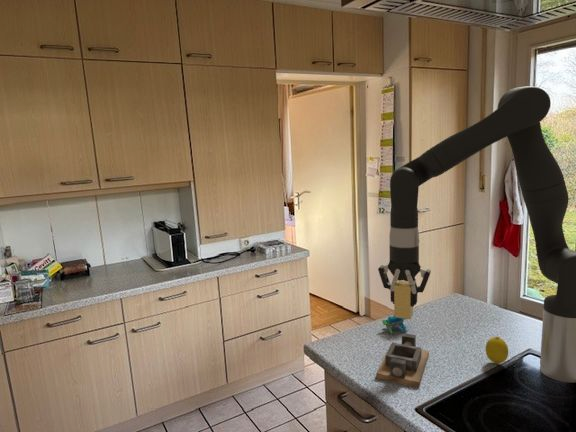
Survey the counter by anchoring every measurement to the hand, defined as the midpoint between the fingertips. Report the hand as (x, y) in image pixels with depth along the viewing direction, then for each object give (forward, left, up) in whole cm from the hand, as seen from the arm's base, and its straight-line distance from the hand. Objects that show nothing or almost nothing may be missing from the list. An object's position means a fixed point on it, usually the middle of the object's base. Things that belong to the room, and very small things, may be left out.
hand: (403, 304), depth 109 cm
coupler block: (0, 0, -3) cm, 3 cm away
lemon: (-23, -11, -19) cm, 32 cm away
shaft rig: (0, 0, -18) cm, 18 cm away
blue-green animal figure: (+7, -23, -19) cm, 31 cm away
